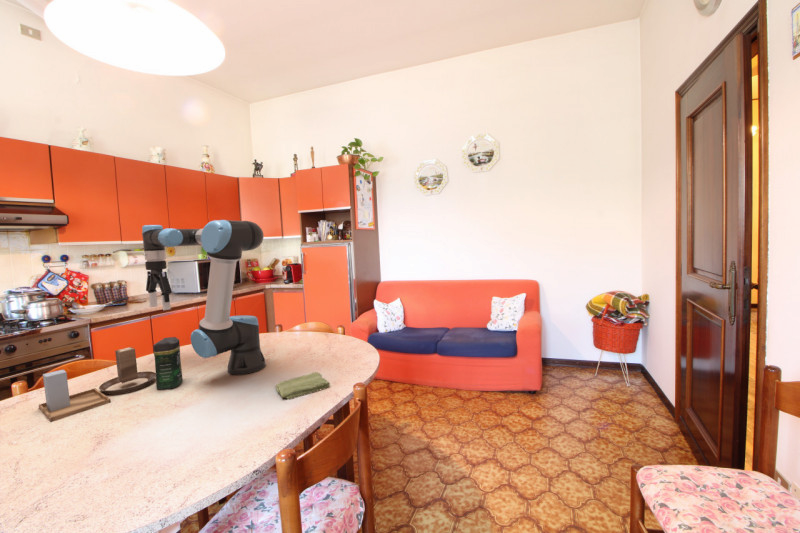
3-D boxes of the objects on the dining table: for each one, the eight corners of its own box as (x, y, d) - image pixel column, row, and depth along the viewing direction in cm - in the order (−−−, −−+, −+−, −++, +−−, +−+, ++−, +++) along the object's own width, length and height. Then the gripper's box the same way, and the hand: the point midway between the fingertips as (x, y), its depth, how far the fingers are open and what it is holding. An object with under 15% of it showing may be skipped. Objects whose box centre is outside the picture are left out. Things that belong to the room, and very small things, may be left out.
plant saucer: (87, 400, 125) (86, 392, 125) (118, 380, 142) (118, 373, 142) (141, 395, 128) (140, 387, 127) (165, 376, 145) (164, 369, 145)
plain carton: (70, 405, 120) (66, 371, 119) (50, 411, 116) (45, 377, 115) (66, 402, 122) (62, 369, 121) (47, 408, 118) (42, 374, 117)
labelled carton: (138, 378, 136) (135, 348, 135) (122, 383, 132) (119, 352, 131) (133, 376, 138) (130, 346, 137) (118, 380, 134) (115, 350, 133)
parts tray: (110, 403, 121) (110, 399, 121) (51, 422, 109) (50, 418, 109) (95, 392, 131) (95, 388, 131) (39, 408, 119) (38, 404, 118)
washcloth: (273, 389, 129) (273, 381, 129) (319, 377, 139) (319, 369, 138) (282, 402, 118) (282, 393, 118) (331, 389, 128) (331, 380, 127)
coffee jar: (178, 388, 131) (173, 341, 130) (153, 392, 129) (149, 343, 127) (185, 379, 141) (181, 334, 139) (163, 382, 138) (158, 336, 137)
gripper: (134, 260, 155) (139, 307, 157) (157, 261, 141) (162, 312, 143) (153, 259, 162) (157, 304, 163) (177, 260, 147) (182, 309, 149)
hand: (160, 308), depth 153 cm, fingers open, 13 cm apart
